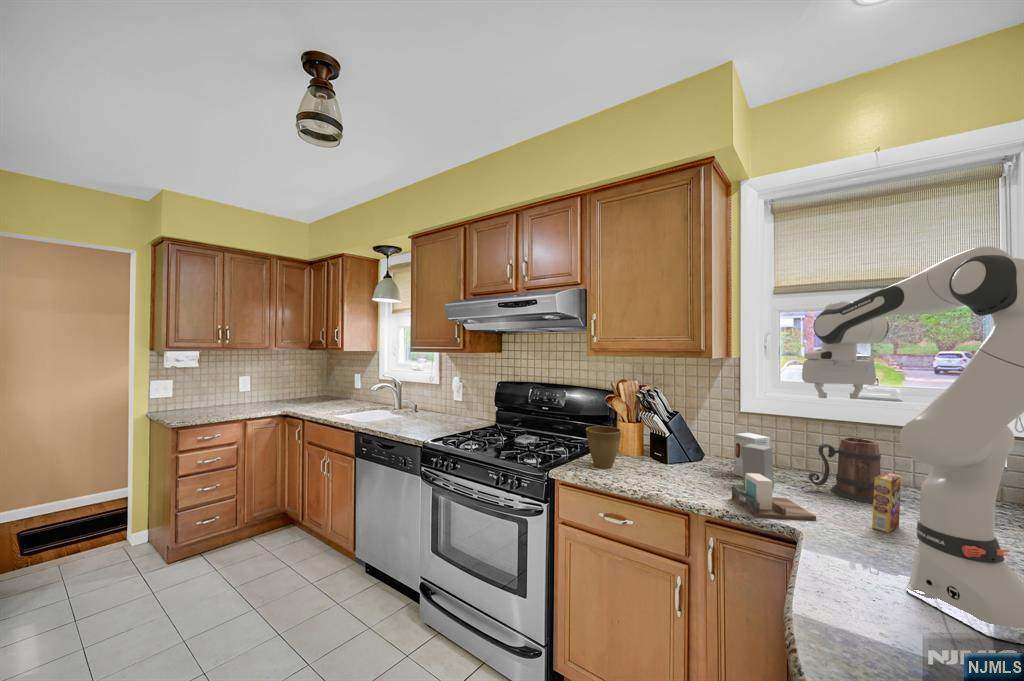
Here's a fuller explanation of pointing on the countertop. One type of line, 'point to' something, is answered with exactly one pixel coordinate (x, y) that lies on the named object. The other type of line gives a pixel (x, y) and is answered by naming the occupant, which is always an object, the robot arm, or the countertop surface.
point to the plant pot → (603, 445)
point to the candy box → (886, 502)
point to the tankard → (853, 469)
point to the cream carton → (759, 489)
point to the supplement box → (746, 439)
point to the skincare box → (758, 461)
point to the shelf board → (780, 507)
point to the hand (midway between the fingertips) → (838, 398)
